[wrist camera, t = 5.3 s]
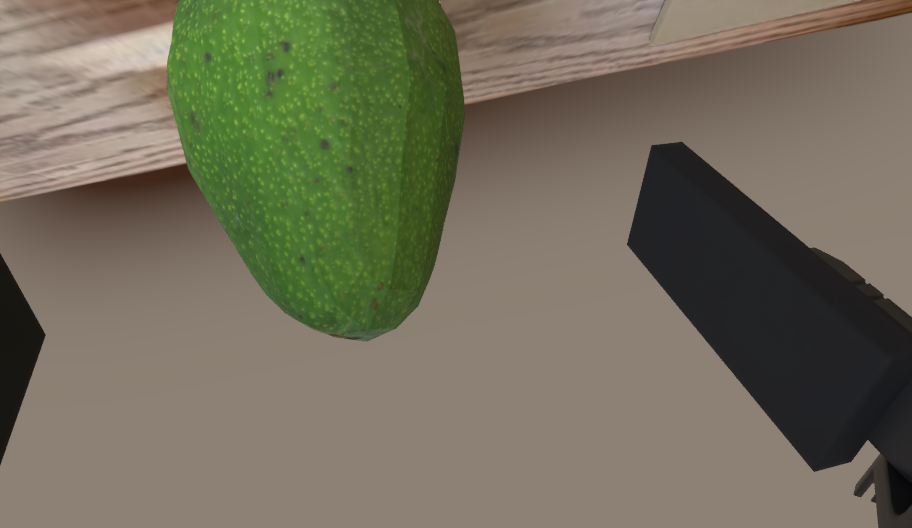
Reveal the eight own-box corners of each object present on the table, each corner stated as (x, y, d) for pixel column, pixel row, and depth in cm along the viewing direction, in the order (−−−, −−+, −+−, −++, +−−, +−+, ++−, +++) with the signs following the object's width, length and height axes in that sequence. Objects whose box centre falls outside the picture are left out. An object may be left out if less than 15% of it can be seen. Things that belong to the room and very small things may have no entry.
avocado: (305, -249, 12) (404, 337, 11) (476, -65, 19) (547, 308, 18) (79, -71, 16) (136, 382, 15) (290, 29, 23) (340, 344, 22)
